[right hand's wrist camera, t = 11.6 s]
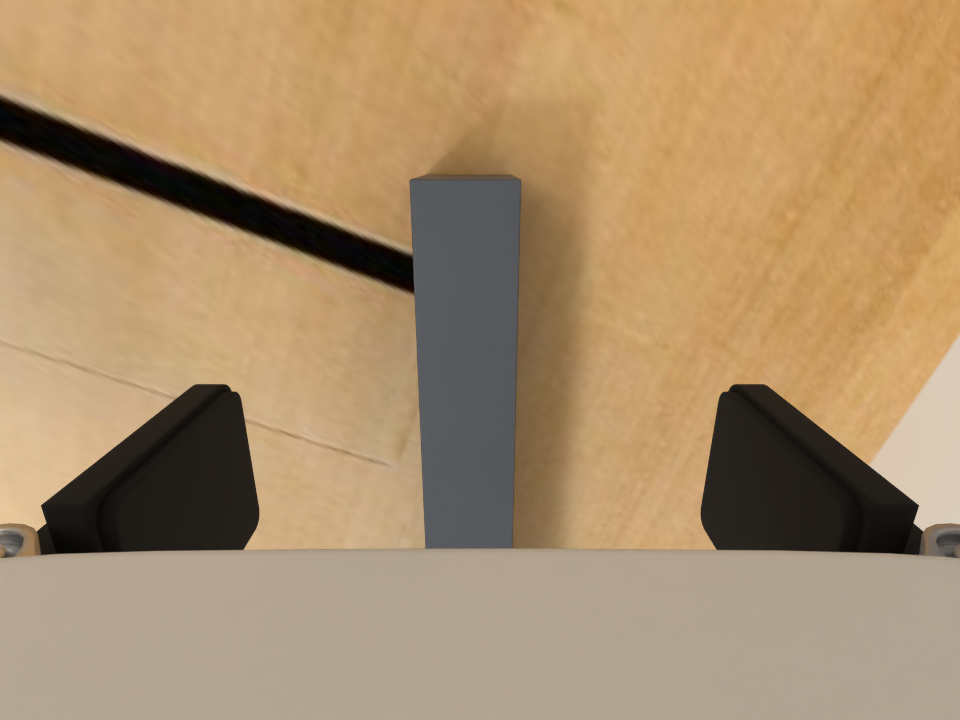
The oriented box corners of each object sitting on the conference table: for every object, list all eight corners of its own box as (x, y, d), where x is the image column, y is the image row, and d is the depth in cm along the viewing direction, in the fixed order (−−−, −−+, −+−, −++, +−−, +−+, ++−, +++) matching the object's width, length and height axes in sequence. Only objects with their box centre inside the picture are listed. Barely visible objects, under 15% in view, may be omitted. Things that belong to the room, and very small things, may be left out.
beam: (424, 174, 33) (409, 179, 26) (512, 174, 33) (521, 179, 26) (448, 876, 57) (444, 979, 50) (499, 876, 57) (502, 979, 50)
